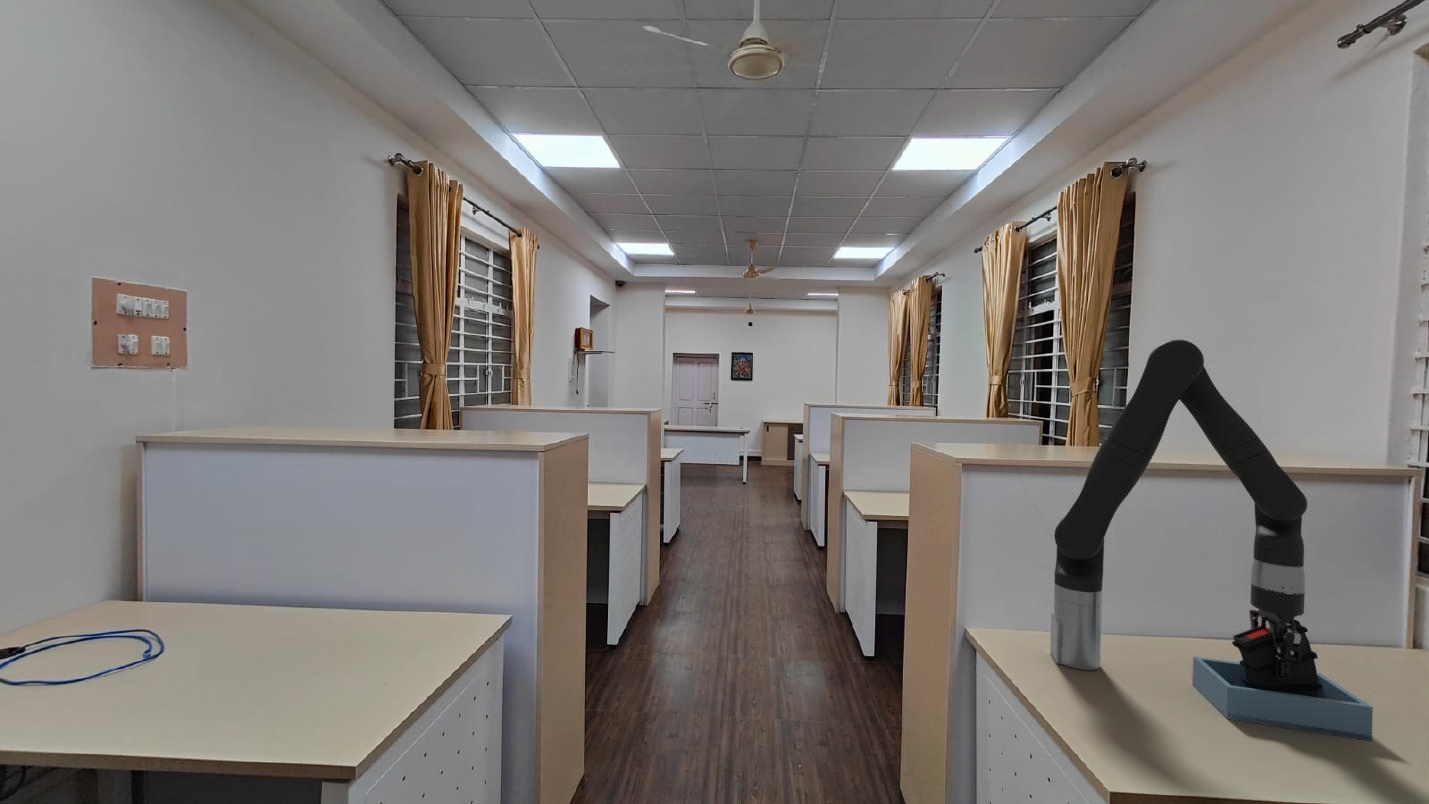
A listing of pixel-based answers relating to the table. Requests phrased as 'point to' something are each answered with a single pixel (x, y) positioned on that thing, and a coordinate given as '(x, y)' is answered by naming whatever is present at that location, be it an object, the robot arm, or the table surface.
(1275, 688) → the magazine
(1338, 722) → the bin
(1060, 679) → the table surface
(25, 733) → the table surface
